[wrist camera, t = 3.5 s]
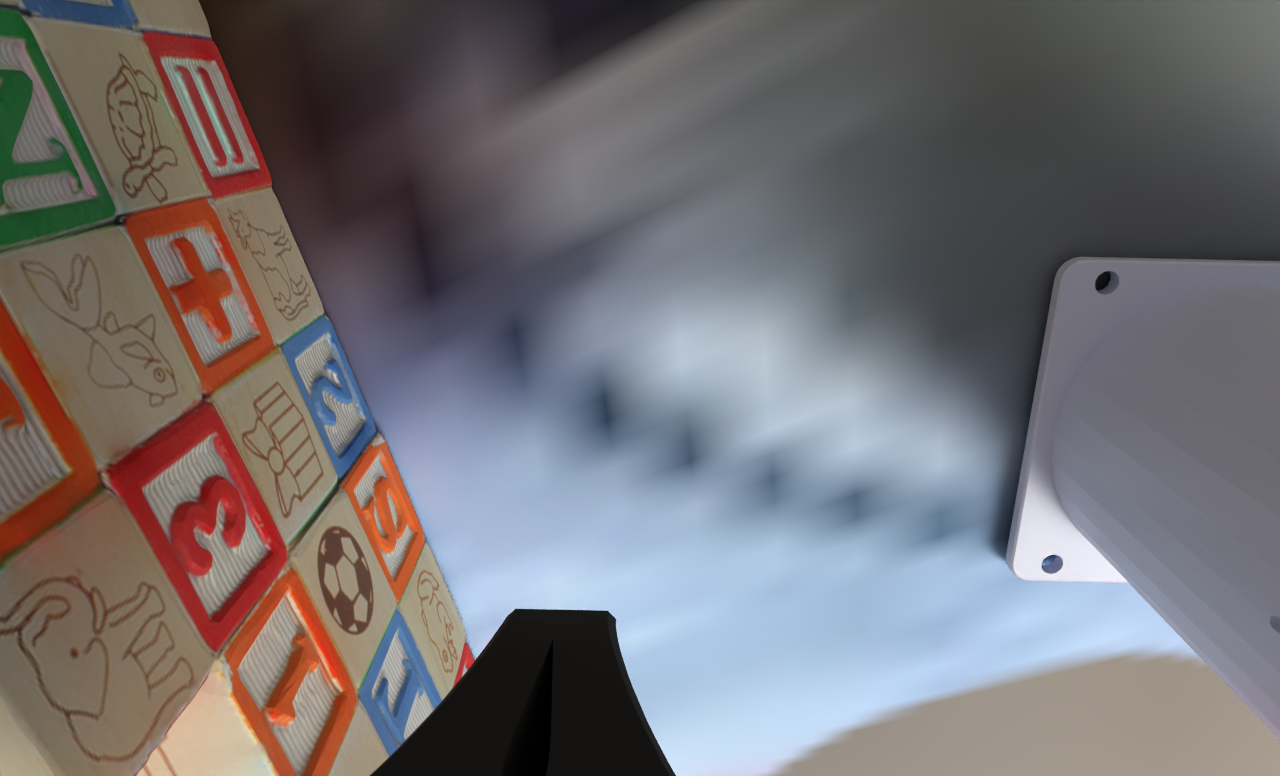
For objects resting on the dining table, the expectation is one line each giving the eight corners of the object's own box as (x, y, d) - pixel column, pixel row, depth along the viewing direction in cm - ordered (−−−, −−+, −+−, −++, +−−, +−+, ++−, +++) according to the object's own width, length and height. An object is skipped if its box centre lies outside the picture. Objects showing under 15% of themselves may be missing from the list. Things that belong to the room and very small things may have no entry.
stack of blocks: (515, 725, 24) (415, 1325, 12) (302, 782, 25) (15, 1411, 13) (146, -127, 17) (-833, -562, 6) (-137, -25, 18) (-1576, -230, 6)
